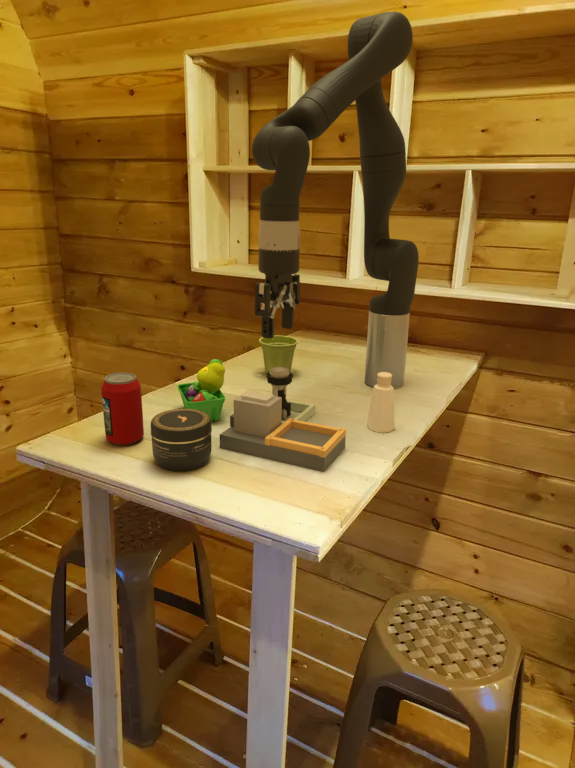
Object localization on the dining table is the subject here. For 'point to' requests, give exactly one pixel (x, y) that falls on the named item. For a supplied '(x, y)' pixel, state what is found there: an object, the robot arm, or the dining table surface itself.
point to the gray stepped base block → (280, 434)
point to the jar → (181, 439)
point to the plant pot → (278, 351)
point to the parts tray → (302, 410)
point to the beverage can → (122, 408)
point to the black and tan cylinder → (280, 386)
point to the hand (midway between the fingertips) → (278, 332)
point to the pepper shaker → (382, 405)
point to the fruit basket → (205, 390)
